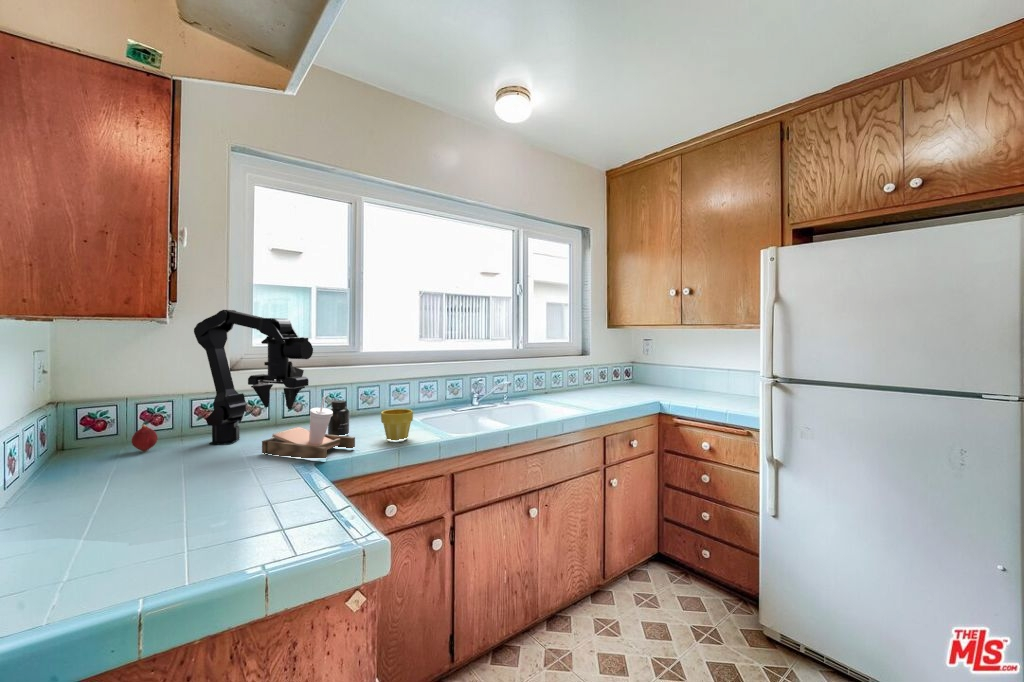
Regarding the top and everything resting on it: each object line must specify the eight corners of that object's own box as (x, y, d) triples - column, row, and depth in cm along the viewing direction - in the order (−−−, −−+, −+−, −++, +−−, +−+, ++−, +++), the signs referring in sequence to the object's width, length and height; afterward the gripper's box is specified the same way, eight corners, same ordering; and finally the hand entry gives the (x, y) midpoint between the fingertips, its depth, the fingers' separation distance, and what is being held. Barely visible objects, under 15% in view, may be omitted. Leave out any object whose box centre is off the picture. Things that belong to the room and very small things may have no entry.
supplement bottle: (344, 438, 144) (344, 403, 144) (324, 438, 145) (324, 402, 144) (352, 433, 151) (352, 399, 151) (333, 433, 151) (333, 399, 151)
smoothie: (300, 443, 124) (308, 397, 122) (309, 436, 130) (318, 392, 129) (322, 447, 124) (331, 401, 123) (330, 440, 130) (339, 396, 129)
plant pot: (378, 437, 146) (379, 409, 146) (409, 435, 150) (409, 407, 150) (383, 445, 137) (383, 415, 136) (415, 442, 141) (415, 413, 141)
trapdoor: (270, 446, 126) (273, 430, 125) (296, 438, 135) (299, 423, 135) (313, 463, 121) (316, 447, 121) (337, 454, 131) (340, 438, 130)
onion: (162, 449, 129) (162, 422, 128) (144, 454, 123) (144, 427, 123) (145, 448, 129) (145, 422, 129) (126, 453, 123) (126, 426, 123)
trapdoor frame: (262, 454, 125) (262, 441, 125) (297, 443, 138) (297, 430, 137) (323, 462, 118) (323, 448, 118) (354, 450, 131) (354, 437, 131)
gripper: (321, 358, 138) (321, 406, 138) (276, 356, 144) (276, 402, 144) (294, 360, 127) (294, 412, 128) (246, 358, 133) (246, 407, 133)
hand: (278, 408), depth 133 cm, fingers open, 9 cm apart
